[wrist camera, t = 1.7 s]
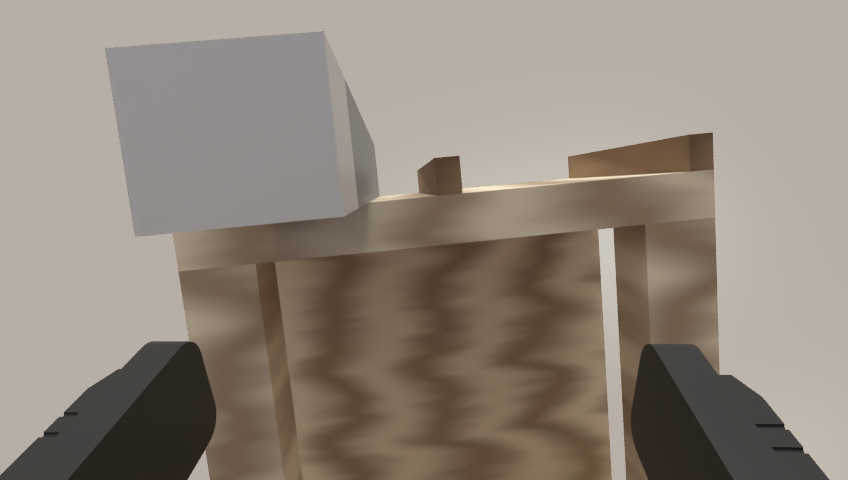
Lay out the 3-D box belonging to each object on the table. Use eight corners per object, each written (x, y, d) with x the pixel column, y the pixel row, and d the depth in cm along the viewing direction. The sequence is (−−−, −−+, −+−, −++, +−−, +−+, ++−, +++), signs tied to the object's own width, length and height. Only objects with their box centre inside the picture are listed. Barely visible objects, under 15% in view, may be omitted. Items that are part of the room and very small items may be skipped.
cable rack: (607, 594, 38) (582, 155, 34) (732, 831, 24) (712, 132, 20) (320, 634, 37) (261, 185, 33) (274, 909, 23) (165, 182, 19)
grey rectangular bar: (379, 196, 33) (374, 144, 33) (344, 216, 10) (324, 31, 9) (320, 202, 33) (314, 150, 33) (135, 236, 9) (105, 48, 9)
